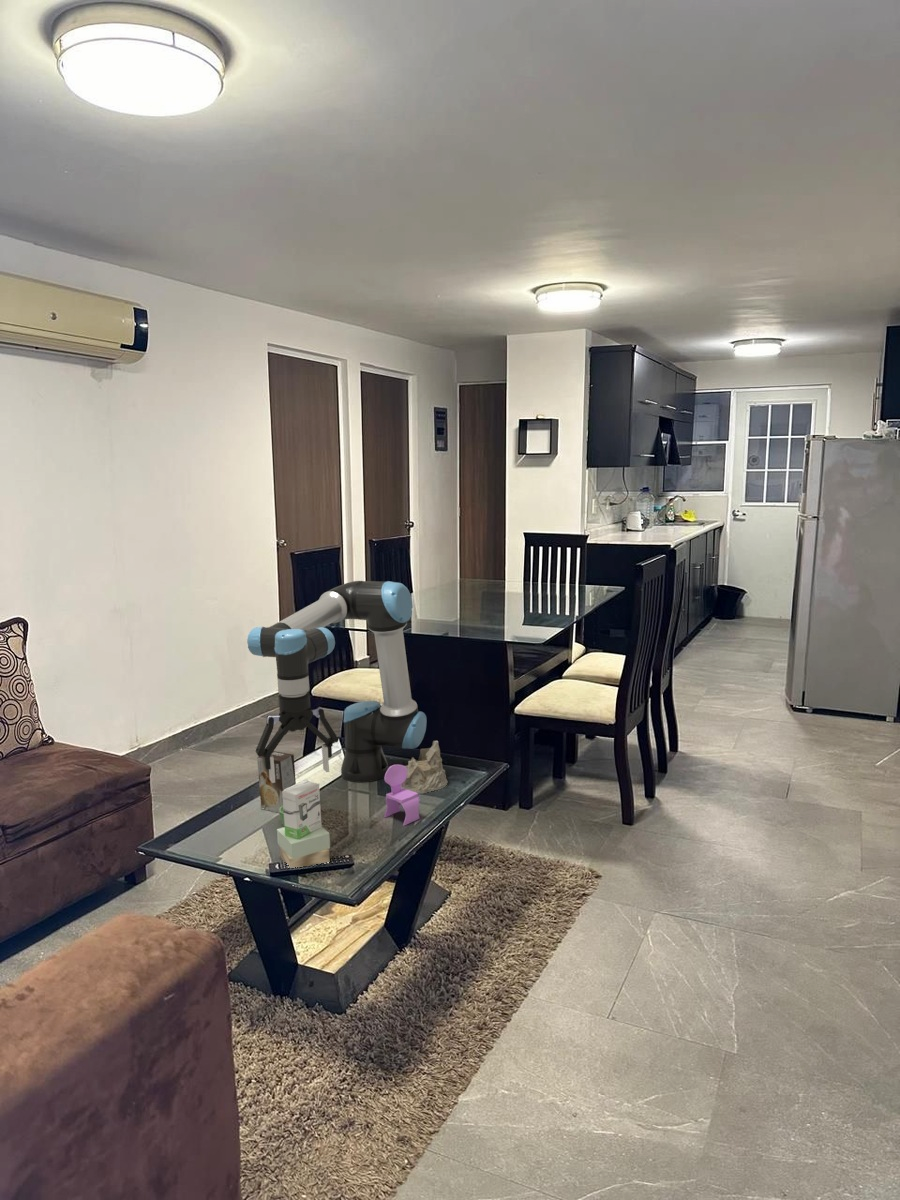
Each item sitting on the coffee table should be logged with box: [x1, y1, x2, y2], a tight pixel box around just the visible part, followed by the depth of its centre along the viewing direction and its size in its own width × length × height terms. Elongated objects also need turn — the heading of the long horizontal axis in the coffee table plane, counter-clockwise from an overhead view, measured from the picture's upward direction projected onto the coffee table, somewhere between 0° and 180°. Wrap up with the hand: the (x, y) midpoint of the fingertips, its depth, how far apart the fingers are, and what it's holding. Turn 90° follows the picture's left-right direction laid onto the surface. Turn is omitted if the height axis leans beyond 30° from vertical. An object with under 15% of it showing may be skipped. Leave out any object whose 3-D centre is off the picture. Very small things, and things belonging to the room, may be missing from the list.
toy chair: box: [382, 764, 421, 827], centre depth 227 cm, size 8×9×15 cm
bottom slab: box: [279, 846, 331, 868], centre depth 205 cm, size 10×10×4 cm
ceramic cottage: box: [401, 740, 449, 795], centre depth 252 cm, size 16×16×15 cm
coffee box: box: [256, 750, 297, 814], centre depth 236 cm, size 9×6×16 cm
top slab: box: [276, 826, 331, 859], centre depth 205 cm, size 10×10×4 cm
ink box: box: [282, 779, 323, 839], centre depth 204 cm, size 9×5×12 cm, turn 145°
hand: (299, 775), depth 202 cm, fingers open, 13 cm apart
